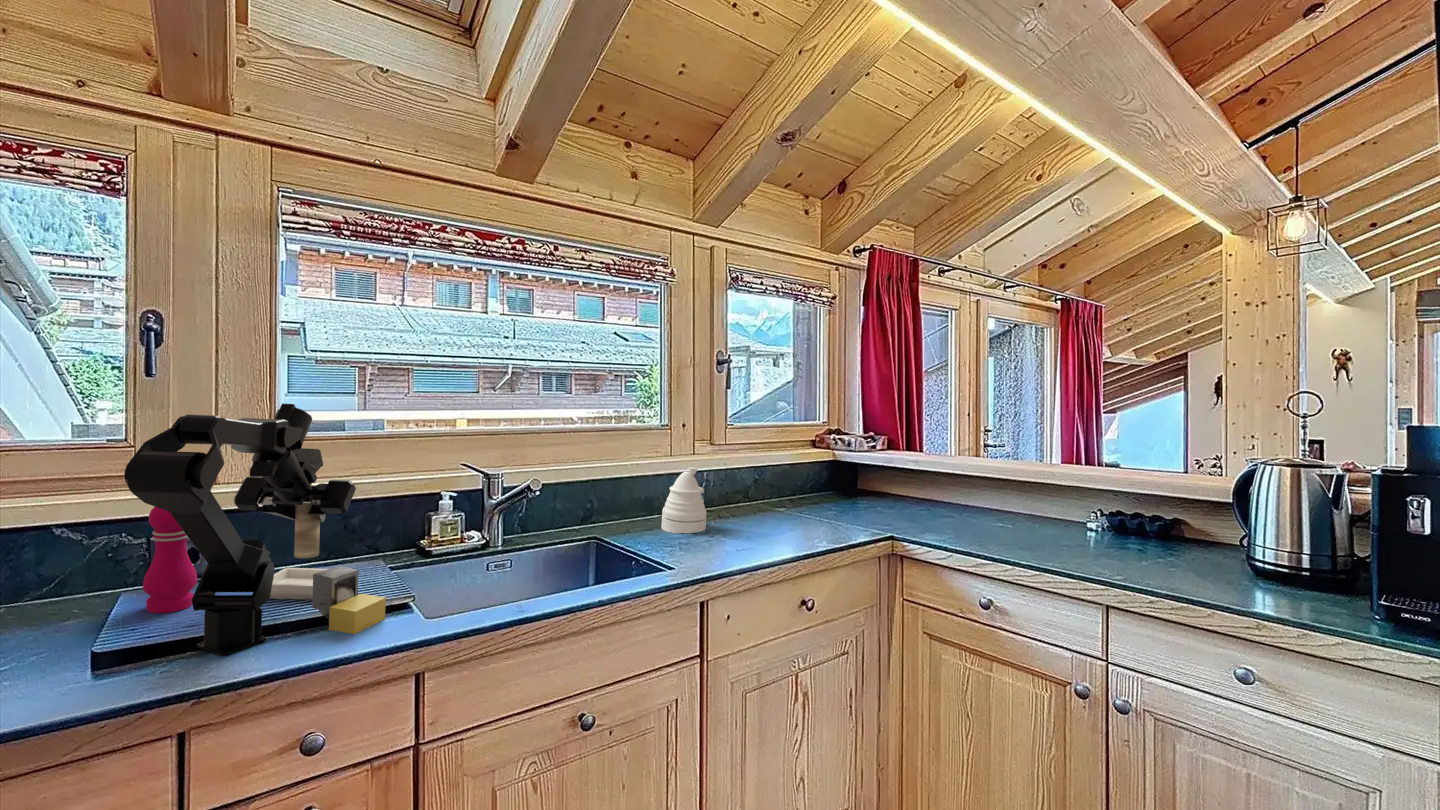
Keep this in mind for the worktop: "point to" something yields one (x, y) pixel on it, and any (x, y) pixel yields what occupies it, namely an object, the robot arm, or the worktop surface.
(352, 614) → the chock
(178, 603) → the pepper mill
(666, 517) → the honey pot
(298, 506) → the pin
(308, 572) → the tray
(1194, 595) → the worktop surface
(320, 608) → the wheel bracket
